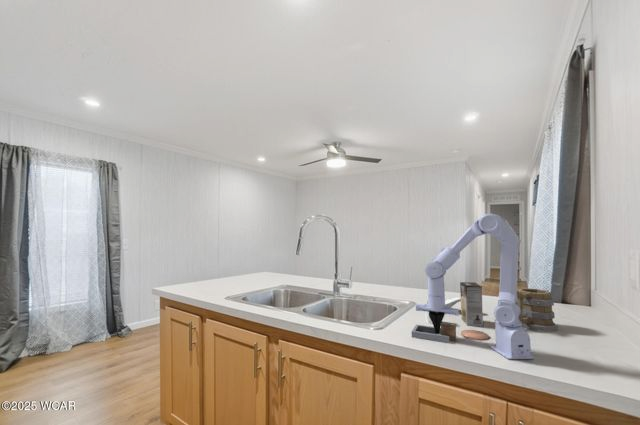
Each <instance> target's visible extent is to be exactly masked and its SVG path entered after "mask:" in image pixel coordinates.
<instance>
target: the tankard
mask: <svg viewBox="0 0 640 425" xmlns="http://www.w3.org/2000/svg"><path fill="white" fill-rule="evenodd" d="M517 297H518V300H517V301H518V305H519V307H520V309H521V313H520V315H519V316H518V319H519V320H520V322H521V323H522V328H525V329H529V330H532V331H539V332H540V331H541V332H553V331H558V328H559V327H558V325H557V324H556V323H555V322H554V320H553V319H555V312H554V311H553V306H554V305H555V301H554V299H553V298H552V292H550V291H548V290H545V289H538V288H529V287H528V288H525V287H524V288H519V289H518V290H517ZM552 330H553V331H552Z"/></svg>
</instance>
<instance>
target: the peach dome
mask: <svg viewBox="0 0 640 425" xmlns="http://www.w3.org/2000/svg"><path fill="white" fill-rule="evenodd" d="M460 335H461V336H463V337H464V338H467V339H469V340H470V339H471V340H476V341H486V340H488V339H489V338H490V337H489V336H490V335H489V334H488V333H487V332H484V331H480V330H476V329H462V330H461V331H460Z"/></svg>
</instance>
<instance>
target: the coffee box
mask: <svg viewBox="0 0 640 425" xmlns="http://www.w3.org/2000/svg"><path fill="white" fill-rule="evenodd" d="M459 285H460V286H459V288H460V291H459V292H460V297H461V301H460V311H461V312H460V313H461V314H460V315H461V320H462V321H463V322H464V323H465V324H466V326H470V327H484V320H483V319H484V315H483V314H484V313H483V291H482V290H483V287H482V286H481V285H480V284H479V283H477V282H475V281H474V282H472V281H471V282H469V281H467V282H466V281H464V282H463V281H460V282H459Z"/></svg>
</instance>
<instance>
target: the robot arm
mask: <svg viewBox="0 0 640 425" xmlns="http://www.w3.org/2000/svg"><path fill="white" fill-rule="evenodd" d="M486 234H487V235H490V236H492V237H493V238H495V239H496V240H497V241H498V242H499V243H500V245H501V246H500V264H499V265H500V269H499V292H498V297H497V305H496V307H495V308H494V311H493V315H494V316H493V317H494V318H495V319H494V328H495V330H494V331H495V345H490V346H489V347H490V348H491V349H492V350H493V351H495V352H496V353H498V354H500V355H502V356H503V357H504V358H506V359H507V360H534V359H535V357H534V356H533V355H532V351H531V350H532V348H531V337H530V335H529V333H528V332H527V331H526V330H525V329H524V327H522V323H521V322H520V320H519V319H518V316H519V315H520V313H521V309H520V307H519V305H518V301H517V300H518V297H517V291H518V275H519V274H518V272H519V269H518V268H519V244H520V240H519V238H520V237H519V236H518V234H517V233H516V232H515V230H514V228H512V225H510V224H509V222H508V220H507V219H505V218H503V217H502V216H501V215H498V214H495V213H491V212H490V213H485V214H483V215H482V216H480V218H478V219H477V220H476V221H474V222H473V223H472V224H471V225H470V226H469V227H468V228H467V230H466V231H465V232H464V233H463V234H462V235H461V236H460V237H459V238H458V239H457V241H456V242H455V243H453V245H452V246H451V245H450V246H449V245H448V246H446V247H442V248H441V249H440V253H439V254H438V255H437V256H435V257H433V258H432V259H431V260H432V261H430V262H427V264H426V266H425V269H424V272H425V275H426V276H427V302H428V305H425V304H415V311H417V312H425V311H427V312H429V317H430V319H431V321H432V323H433V324H432V327H434V329H435V333H436V334H438V335H440V334H439V333H440V328H441V325H442V323H443V320H444V317H445V315H452V316H458V317H459V316H460V310H459V308H455V307H451V308H450V307H445V300H446V297H445V296H446V294H445V293H446V292H445V291H446V290H445V275H446V273H447V270H449V269H450V268H451V267H452V266H453V265H455V263H457V261H458V260H459V259H460V258H461V255H460V254H461V252H462V251H464V249H465V248H466V247H467V246H468V245H469V244H471V243H472V242H473V241H474V240H475V239H476V238H477V237H481V236H483V235H486Z"/></svg>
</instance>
